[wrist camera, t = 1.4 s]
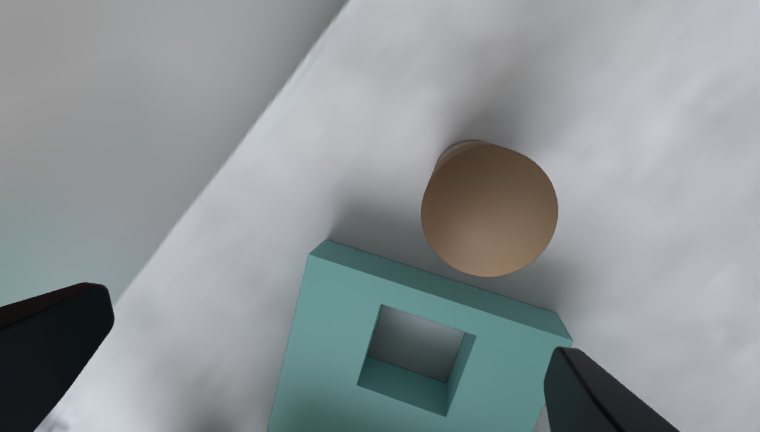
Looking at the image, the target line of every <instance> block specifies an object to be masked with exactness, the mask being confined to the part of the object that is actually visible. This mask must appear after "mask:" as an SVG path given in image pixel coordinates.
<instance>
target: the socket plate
mask: <svg viewBox="0 0 760 432" xmlns="http://www.w3.org/2000/svg"><path fill="white" fill-rule="evenodd" d="M382 305H386V306H389V307H392V308H395V309H398V310H401V311H404V312H407V313H410V314H413V315H416V316H419V317H422V318H425V319H428V320H431V321H434V322H437V323H440V324H443V325H446V326H449V327H452V328H455V329H458V330H461V331H464V332H465V335H464V337H463V340H462V343H461V346H460V348H459V351H458V354H457V356H456V359H455V362H454V365H453V367H452V370H451V373H450V376H449V378H448V381H447V383H444V382H441V381H438V380H435V379H432V378H430V377H427V376H424V375H421V374H418V373H415V372H412V371H410V370H407V369H404V368H401V367H398V366H395V365H392V364H390V363H387V362H384V361H381V360H378V359H375V358H372V357H370V356H367V355H368V351H369V348H370V345H371V341H372V338H373V335H374V331H375V328H376V325H377V321H378V318H379V315H380V311H381V308H382ZM572 342H573V340H572V338H571V336H570V334H569V333H568V331H567V329H566V328H565V326H564V324H563V323H562V321H561V319H560V317H559V316H558V314H557V313H554V312H551V311H548V310H545V309H542V308H539V307H536V306H532V305H529V304H526V303H523V302H520V301H517V300H514V299H511V298H507V297H504V296H501V295H498V294H495V293H492V292H489V291H486V290H482V289H479V288H476V287H473V286H470V285H467V284H464V283H461V282H457V281H454V280H451V279H448V278H445V277H442V276H439V275H436V274H433V273H429V272H426V271H423V270H420V269H417V268H414V267H411V266H408V265H404V264H401V263H398V262H395V261H392V260H389V259H386V258H383V257H379V256H376V255H373V254H370V253H367V252H364V251H361V250H358V249H355V248H351V247H348V246H345V245H342V244H339V243H336V242H333V241H330V240H325V241H323V242H322V243H321V244H320V245H319V246H318V247H317V248H315V249H314V250H313V251H312V252H311V253H310V254H309V255H308V259H307V264H306V268H305V272H304V276H303V280H302V285H301V289H300V293H299V297H298V301H297V306H296V310H295V314H294V318H293V323H292V327H291V331H290V335H289V339H288V344H287V348H286V352H285V356H284V360H283V365H282V369H281V373H280V377H279V382H278V386H277V390H276V394H275V398H274V403H273V407H272V411H271V415H270V419H269V424H268V428H267V432H532V431H533V429H534V427H535V425H536V422H537V420H538V418H539V416H540V414H541V411H542V409H543V407H544V405H545V402H546V401H545V396H544V387H543V386H544V378H545V374H546V371H547V368H548V365H549V362H550V359H551V356H552V353H553V350H554V349H555V348H556V347H558V346H562V347H571V344H572Z"/></svg>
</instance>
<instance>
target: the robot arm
mask: <svg viewBox="0 0 760 432" xmlns="http://www.w3.org/2000/svg"><path fill="white" fill-rule="evenodd" d="M114 319H115V318H114V312H113V308H112V304H111V299H110V295H109V291H108V289H107V288H106V287H105V286H104V285H102V284H95V283H88V282H83V283H79V284H76V285H72V286H69V287H66V288H62V289H59V290H56V291H52V292H49V293H46V294H42V295H39V296H36V297H32V298H29V299H26V300H22V301H19V302H16V303H12V304H9V305H6V306H2V307H0V432H34V430H35V429H36V428H37V427H38V426H39V425H40V423H41V422H42V421H43V420H44V419H45V418H46V416H47V415H48V414H49V413H50V412H51V411H52V409H53V408H54V407H55V406H56V404H57V403H58V402H59V401H60V400H61V398H62V397H63V396H64V395H65V393H66V392H67V391H68V389H69V388H70V387H71V385H72V384H73V382H74V381H75V380H76V378H77V377H78V375H79V374H80V373H81V371H82V370H83V368H84V367H85V366H86V364H87V363H88V361H89V360H90V359H91V357H92V356H93V354H94V353H95V352H96V350H97V349H98V348H99V346H100V345H101V343H102V342H103V341H104V339H105V338H106V336H107V335H108V334H109V332H110V331H111V329H112V327H113V325H114ZM543 387H544V396H545V401H546V407H547V413H548V418H549V424H550V430H551V432H680V431H679V430H677V429H676V428H675V427H674V426H672V425H671V424H670V423H669V422H668V421H666V420H665V419H664V418H663V417H662V416H660V415H659V414H658V413H657V412H655V411H654V410H653V409H652V408H651V407H649V406H648V405H647V404H646V403H644V402H643V401H642V400H641V399H640V398H638V397H637V396H636V395H635V394H634V393H632V392H631V391H630V390H629V389H627V388H626V387H625V386H624V385H623V384H621V383H620V382H619V381H618V380H617V379H615V378H614V377H613V376H612V375H610V374H609V373H608V372H607V371H606V370H604V369H603V368H602V367H601V366H599V365H598V364H597V363H596V362H595V361H593V360H592V359H591V358H590V357H589V356H587V355H586V354H585V353H584V352H582V351H581V350H579V349H577V348H570V347H562V346H558V347H556V348H555V349H554V350H553V353H552V356H551V359H550V362H549V365H548V368H547V371H546V374H545V378H544V386H543Z"/></svg>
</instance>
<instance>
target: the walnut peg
mask: <svg viewBox="0 0 760 432" xmlns="http://www.w3.org/2000/svg"><path fill="white" fill-rule="evenodd" d="M557 218H558V204H557V197H556V194H555V190H554V188H553V185H552V183H551V181H550V180H549V178H548V176H547V175H546V174H545V172H544V171H543V170H542V169H541V168H540V167H539V166H538V165H537V164H536V163H535V162H534V161H532V160H531V159H529V158H528V157H526V156H524V155H522V154H520V153H518V152H516V151H513V150H510V149H506V148H503V147H500V146H497V145H493V144H490V143H487V142H483V141H479V140H465V141H461V142H458V143H456V144H454V145H452V146H450V147H449V148H448V149H446V150H445V151H444V152H443V153H442V155H441V156H440V157H439V159H438V161H437V163H436V166H435V168H434V171H433V173H432V176H431V178H430V180H429V183H428V185H427V188H426V191H425V193H424V196H423V201H422V207H421V220H422V226H423V230H424V233H425V236H426V238H427V240H428V243H429V244H430V246H431V247H432V249H433V250H434V252H435V253H436V254H437V255H438V256H439V257H440V258H441V259H442V260H443V261H444V262H446V263H447V264H448V265H450V266H451V267H453V268H455V269H457V270H459V271H461V272H464V273H466V274H470V275H474V276H481V277H495V276H502V275H506V274H510V273H513V272H515V271H518V270H520V269H522V268H524V267H525V266H527V265H528V264H530V263H531V262H533V261H534V260H535V259H536V258H537V257H538V256H539V255H540V254H541V253H542V252H543V251H544V250H545V248H546V247H547V245H548V244H549V242H550V240H551V238H552V236H553V234H554V231H555V228H556V224H557Z"/></svg>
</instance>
